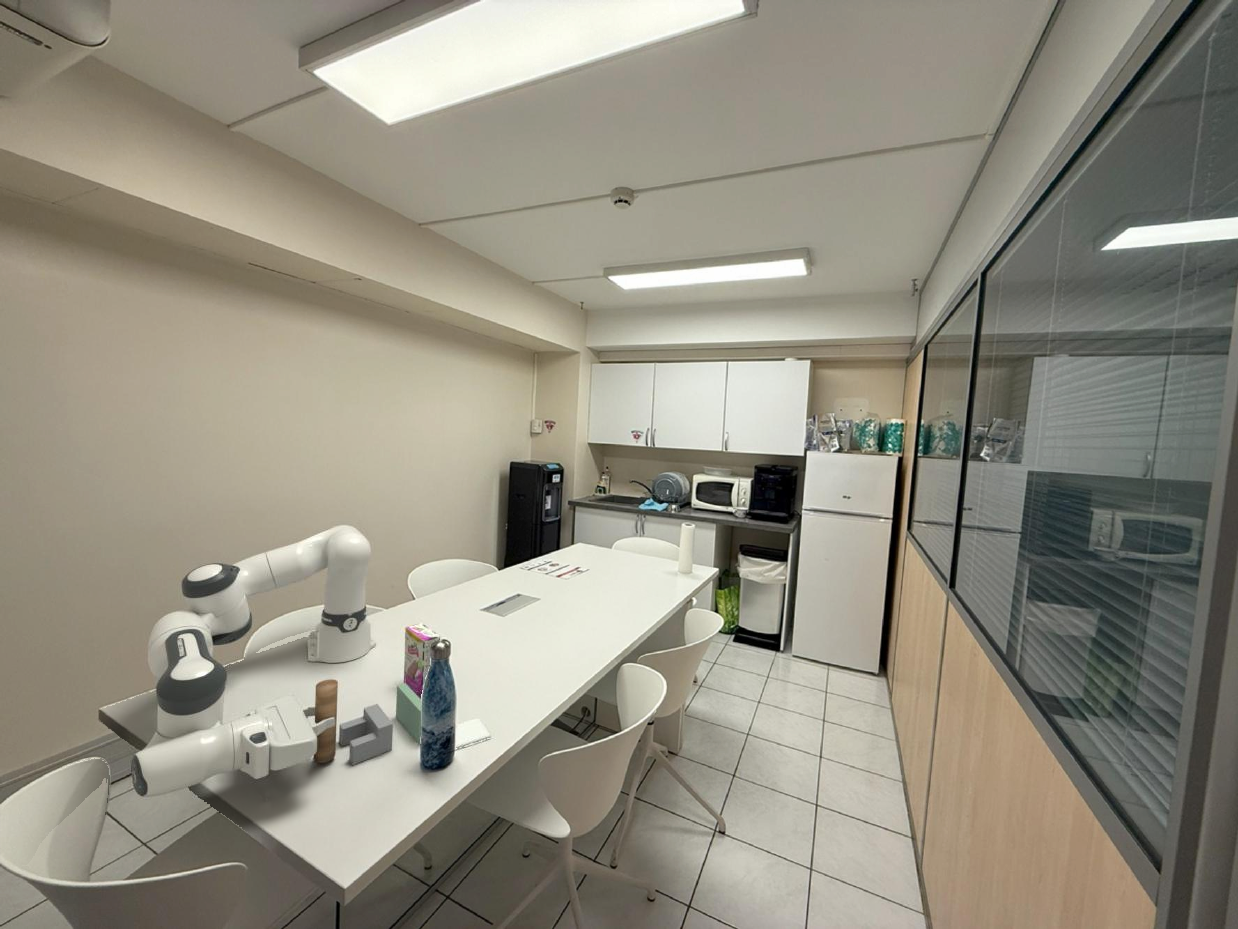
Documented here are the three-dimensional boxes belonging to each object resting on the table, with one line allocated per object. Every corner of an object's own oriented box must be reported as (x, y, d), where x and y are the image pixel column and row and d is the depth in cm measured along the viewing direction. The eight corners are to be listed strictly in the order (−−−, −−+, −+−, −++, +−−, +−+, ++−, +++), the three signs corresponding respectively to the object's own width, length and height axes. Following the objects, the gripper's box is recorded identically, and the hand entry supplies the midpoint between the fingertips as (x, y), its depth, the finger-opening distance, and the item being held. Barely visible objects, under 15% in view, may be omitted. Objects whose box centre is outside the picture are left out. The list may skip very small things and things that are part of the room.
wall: (395, 716, 121) (397, 685, 120) (404, 713, 122) (405, 683, 122) (418, 744, 111) (420, 711, 110) (427, 741, 112) (428, 708, 112)
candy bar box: (402, 683, 136) (404, 626, 135) (419, 677, 140) (421, 622, 139) (421, 700, 129) (423, 640, 128) (438, 693, 132) (441, 635, 131)
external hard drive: (490, 741, 115) (436, 759, 108) (478, 723, 122) (426, 738, 114) (490, 735, 115) (436, 752, 107) (478, 717, 121) (426, 732, 114)
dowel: (311, 755, 104) (313, 683, 103) (332, 747, 107) (334, 677, 106) (316, 765, 101) (318, 691, 100) (337, 757, 104) (340, 685, 103)
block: (339, 741, 110) (339, 716, 110) (376, 727, 116) (377, 703, 115) (352, 764, 103) (353, 737, 103) (391, 749, 109) (392, 723, 108)
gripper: (241, 729, 102) (317, 706, 111) (259, 784, 87) (344, 752, 97) (242, 700, 101) (318, 680, 111) (259, 751, 87) (345, 722, 96)
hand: (330, 714), depth 104 cm, fingers closed on dowel, 4 cm apart
